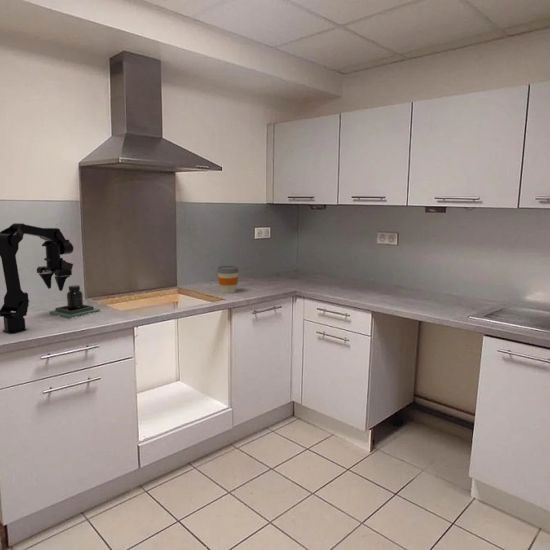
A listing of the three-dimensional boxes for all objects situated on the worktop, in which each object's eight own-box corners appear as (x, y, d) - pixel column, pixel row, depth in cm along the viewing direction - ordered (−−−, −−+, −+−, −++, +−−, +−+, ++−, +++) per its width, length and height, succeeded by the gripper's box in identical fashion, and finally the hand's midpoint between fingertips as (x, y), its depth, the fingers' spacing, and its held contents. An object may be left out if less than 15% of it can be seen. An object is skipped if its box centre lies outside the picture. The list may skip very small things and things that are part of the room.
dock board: (69, 318, 195) (68, 313, 195) (49, 313, 204) (48, 308, 203) (99, 311, 209) (99, 306, 208) (79, 306, 217) (79, 302, 217)
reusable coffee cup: (237, 294, 254) (237, 269, 251) (216, 293, 254) (216, 268, 251) (239, 290, 266) (239, 266, 264) (219, 289, 266) (218, 265, 264)
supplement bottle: (64, 311, 205) (63, 286, 203) (77, 308, 210) (76, 284, 208) (73, 313, 201) (71, 287, 199) (86, 310, 207) (85, 285, 205)
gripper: (81, 255, 196) (83, 289, 198) (58, 253, 206) (60, 285, 208) (58, 257, 187) (60, 292, 189) (35, 254, 197) (37, 288, 199)
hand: (55, 289), depth 197 cm, fingers open, 9 cm apart
